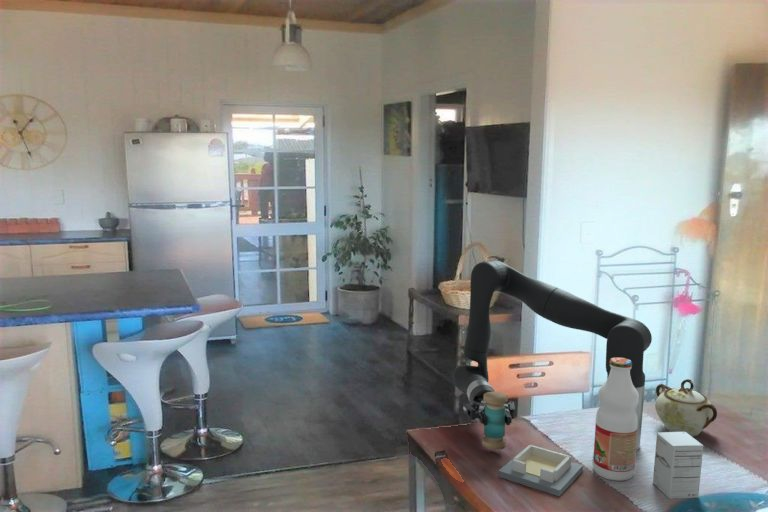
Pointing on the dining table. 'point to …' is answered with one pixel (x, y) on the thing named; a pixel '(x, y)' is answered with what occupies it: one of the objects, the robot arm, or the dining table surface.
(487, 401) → the spool
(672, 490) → the supplement box
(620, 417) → the fruit juice
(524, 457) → the white grey square tray
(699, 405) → the sugar bowl
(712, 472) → the dining table surface
